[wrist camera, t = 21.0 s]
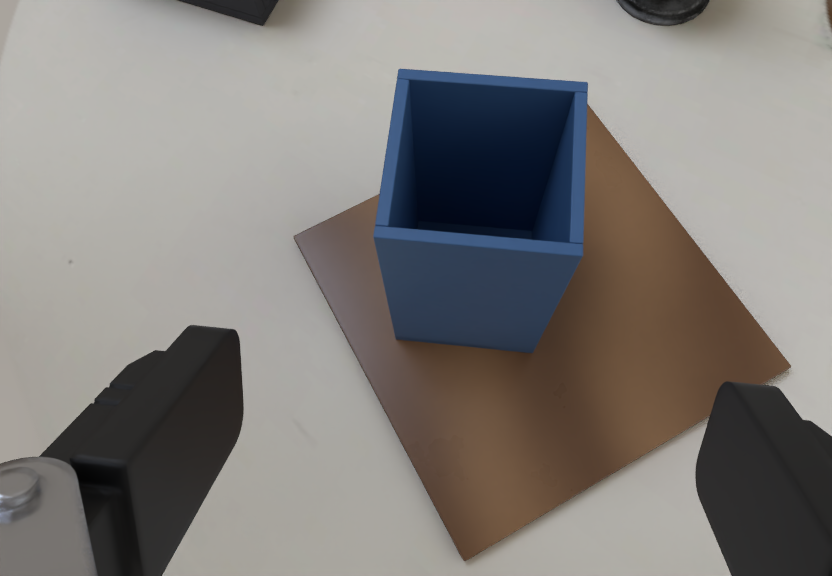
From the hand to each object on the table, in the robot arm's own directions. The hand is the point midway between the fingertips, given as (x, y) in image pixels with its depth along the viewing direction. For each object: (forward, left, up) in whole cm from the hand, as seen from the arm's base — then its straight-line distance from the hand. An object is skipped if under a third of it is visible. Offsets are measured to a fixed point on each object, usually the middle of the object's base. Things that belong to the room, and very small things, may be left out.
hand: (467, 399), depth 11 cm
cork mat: (+7, +5, -17) cm, 19 cm away
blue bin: (+5, +7, -17) cm, 19 cm away
